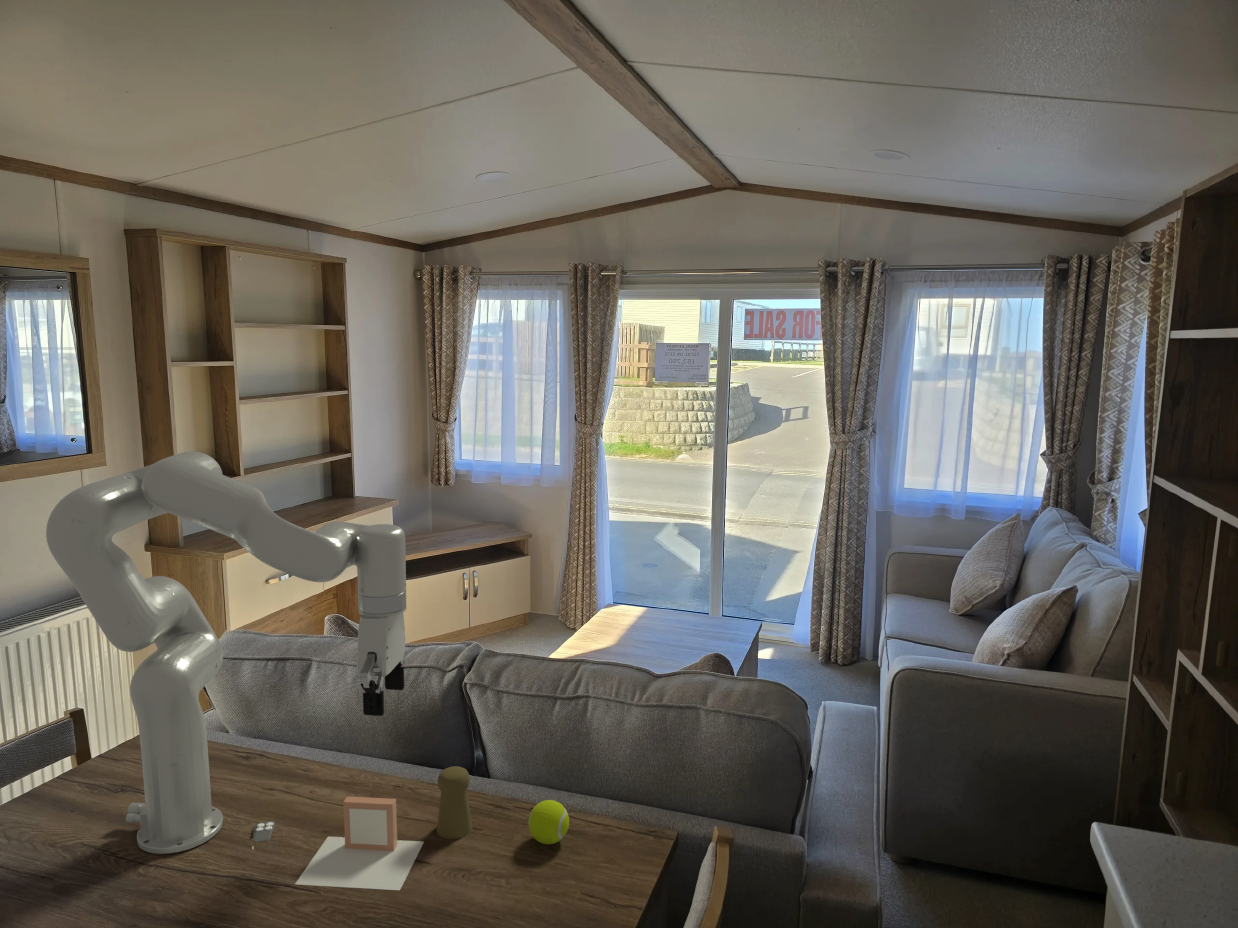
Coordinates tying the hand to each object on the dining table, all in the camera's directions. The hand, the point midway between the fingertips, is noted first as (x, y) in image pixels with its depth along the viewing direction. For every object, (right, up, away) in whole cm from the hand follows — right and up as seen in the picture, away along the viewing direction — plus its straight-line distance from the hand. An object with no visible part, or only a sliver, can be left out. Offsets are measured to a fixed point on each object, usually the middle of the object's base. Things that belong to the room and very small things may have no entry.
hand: (384, 701), depth 137 cm
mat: (-1, -24, -7) cm, 25 cm away
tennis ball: (+27, -23, 0) cm, 36 cm away
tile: (-1, -22, -3) cm, 23 cm away
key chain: (-19, -23, -3) cm, 31 cm away
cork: (+11, -23, +2) cm, 25 cm away
